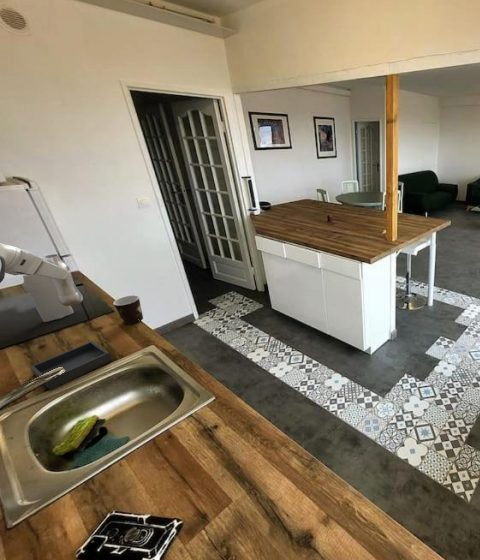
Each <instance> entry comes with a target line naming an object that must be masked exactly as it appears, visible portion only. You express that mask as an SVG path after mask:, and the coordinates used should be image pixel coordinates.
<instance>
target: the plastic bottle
mask: <svg viewBox="0 0 480 560" xmlns="http://www.w3.org/2000/svg"><path fill="white" fill-rule="evenodd" d="M61 260H62V259H61V257H60V255H59V254H55V253H53V254H48V255H45V256H44V261H47V262H49V263H52V264H54V265H57V266H59V267H61V268H63V269H66V270H67V271H68V274H67V275H70V276H72V272H71V268H70V266H69V265H68V264H67V263H65V262H63V261H61ZM50 279H51V281H52V282H53V284H54V286H55V288H56V290H57V293H58V298H59V301H60V303H61V304H62V305H64V306H71V307H72V306H77V305H79V304H81V303H82V302H83V300H84V297H83V294H82V293H81V292H80V290H79V288H78V287H77V286H76V283H75V281H74V278H72V279H71V280H66V279H64V280H59V279H54V278H50Z"/></svg>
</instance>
